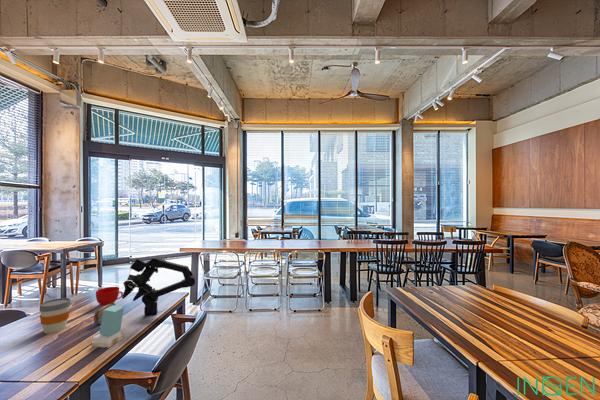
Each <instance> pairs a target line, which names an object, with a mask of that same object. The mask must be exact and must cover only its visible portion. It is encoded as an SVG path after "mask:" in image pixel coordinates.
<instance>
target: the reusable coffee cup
mask: <svg viewBox="0 0 600 400" xmlns="http://www.w3.org/2000/svg"><path fill="white" fill-rule="evenodd" d="M71 304H72V302H71V298H68V297H62V298H54V299H49V300H46V301H44V302H42V303H40V305H39V308H38V309H39V312H40V314H39V319H40V324H41V325H42V331H43V334H53V333H57V332H60V331H62V330H65V329H66V328H67V325H68V319H69V317H70V312H71V308H70V307H71Z"/></svg>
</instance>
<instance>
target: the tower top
mask: <svg viewBox="0 0 600 400" xmlns="http://www.w3.org/2000/svg"><path fill="white" fill-rule="evenodd" d="M121 334H122V330H121V329H120V331H119V332H117V333H116V334H114V335H112V336H106V335H100V334H99V333H98V334H96V335H94V336H93V337H92V342H93V343H109V342H111V341H112V340H114V339H115V338H117V337H118V336H119V335H121Z"/></svg>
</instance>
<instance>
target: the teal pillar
mask: <svg viewBox="0 0 600 400" xmlns="http://www.w3.org/2000/svg"><path fill="white" fill-rule="evenodd" d="M124 309H125V306H118V305H115V306H114V305H112V306H110V307H108V308H106V309H104V310H103V315H102V321H101V324H100V328H99V333H98V334H100V335H106V336H112V335H114V334H116V333H117V332H119V331H120V330H121V329H122V322H123V321H122V320H123V315H124Z"/></svg>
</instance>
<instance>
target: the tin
mask: <svg viewBox="0 0 600 400" xmlns="http://www.w3.org/2000/svg"><path fill="white" fill-rule="evenodd" d="M112 305H114V306H116V304H115V303H113V304H108V305H106V306H102V307H101V308H99V309H97V310H96V311H95V313H94V315H93V321H94V322H93V323H94V324H95V325H101V321H102V315H103V310H104V309H106V308H108V307H110V306H112Z"/></svg>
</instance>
